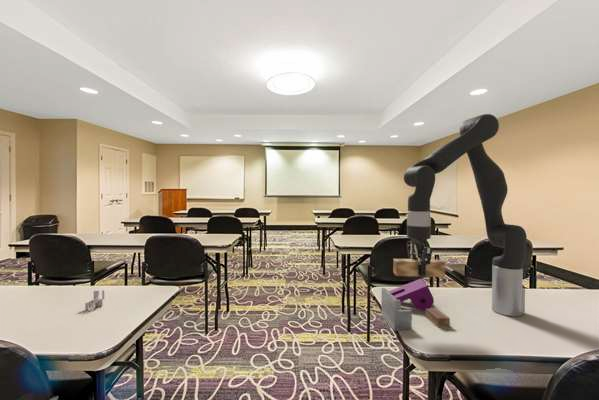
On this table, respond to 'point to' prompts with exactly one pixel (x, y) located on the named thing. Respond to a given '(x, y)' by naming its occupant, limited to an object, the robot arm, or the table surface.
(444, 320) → the rest block
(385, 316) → the bracket
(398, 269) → the rail
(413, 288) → the mounting bracket
